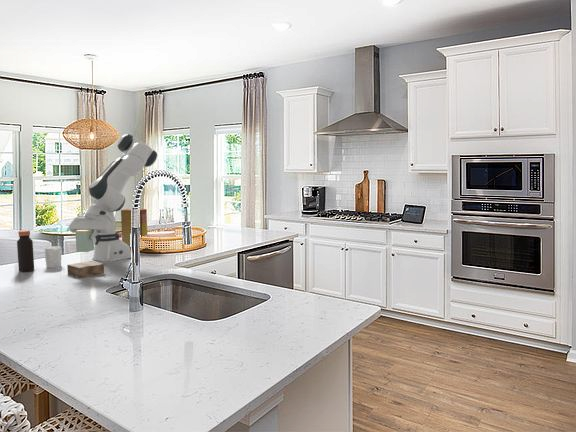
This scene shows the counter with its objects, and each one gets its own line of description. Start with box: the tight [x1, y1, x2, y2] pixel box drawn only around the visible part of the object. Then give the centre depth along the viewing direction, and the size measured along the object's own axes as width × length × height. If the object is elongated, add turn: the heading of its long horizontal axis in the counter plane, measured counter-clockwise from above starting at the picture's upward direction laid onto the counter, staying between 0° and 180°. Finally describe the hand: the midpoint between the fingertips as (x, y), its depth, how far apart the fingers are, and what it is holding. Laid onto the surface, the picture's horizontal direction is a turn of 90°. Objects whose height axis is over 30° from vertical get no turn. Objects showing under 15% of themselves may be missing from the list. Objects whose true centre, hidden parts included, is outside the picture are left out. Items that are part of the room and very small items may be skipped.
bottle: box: [16, 229, 35, 273], centre depth 233 cm, size 7×7×20 cm
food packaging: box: [120, 208, 148, 251], centre depth 294 cm, size 13×9×25 cm
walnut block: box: [67, 260, 105, 279], centre depth 226 cm, size 12×12×5 cm
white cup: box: [43, 245, 62, 269], centre depth 243 cm, size 8×8×10 cm
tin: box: [74, 230, 95, 253], centre depth 225 cm, size 6×6×10 cm
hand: (84, 238), depth 224 cm, fingers closed on tin, 6 cm apart
